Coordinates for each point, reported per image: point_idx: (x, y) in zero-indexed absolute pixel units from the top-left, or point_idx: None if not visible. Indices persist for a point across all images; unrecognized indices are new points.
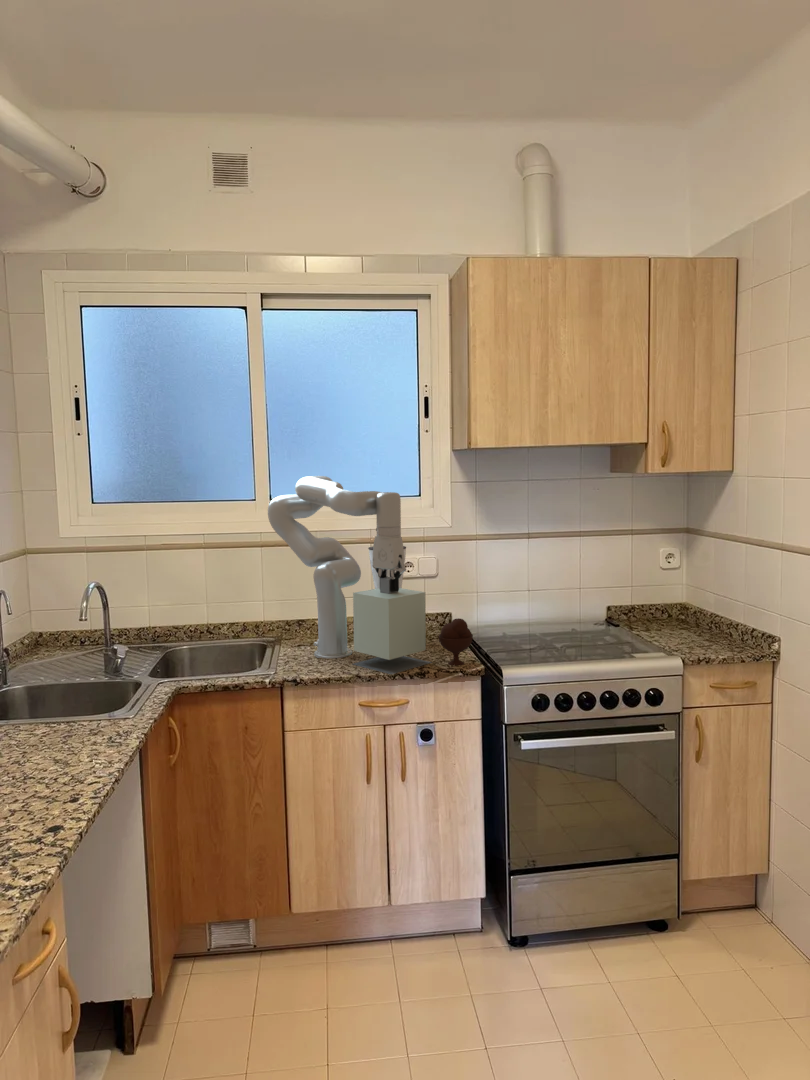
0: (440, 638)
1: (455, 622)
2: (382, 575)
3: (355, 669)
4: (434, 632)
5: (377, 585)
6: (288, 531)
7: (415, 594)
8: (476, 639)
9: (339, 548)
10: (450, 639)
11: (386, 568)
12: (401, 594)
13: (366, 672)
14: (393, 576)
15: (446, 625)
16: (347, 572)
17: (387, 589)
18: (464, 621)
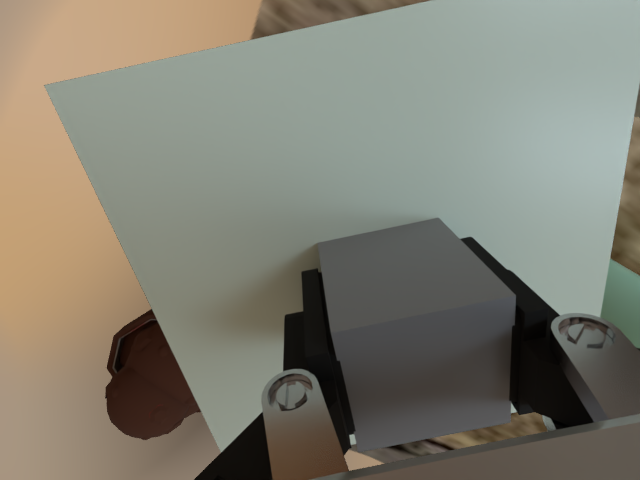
0: None
1: (122, 400)
2: (541, 361)
3: (353, 4)
4: (524, 421)
5: None
6: None
7: (196, 395)
8: (391, 455)
9: None
10: (128, 326)
11: (366, 473)
12: (236, 314)
13: (290, 17)
14: (288, 411)
15: (166, 370)
16: None
17: (343, 257)
18: (122, 431)
